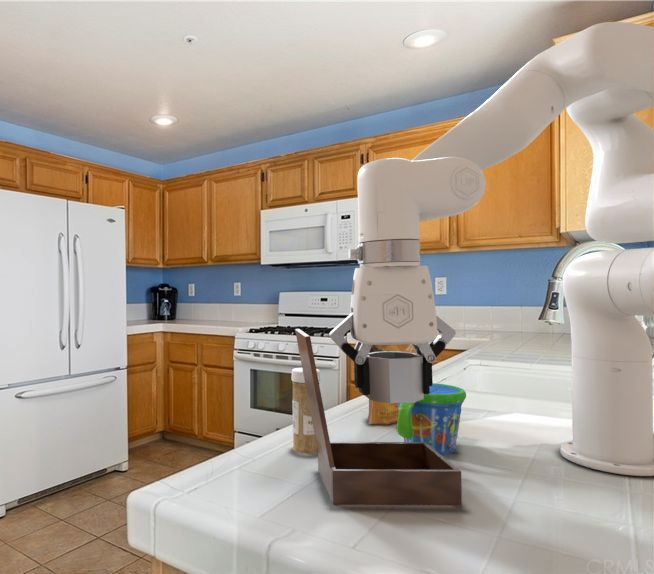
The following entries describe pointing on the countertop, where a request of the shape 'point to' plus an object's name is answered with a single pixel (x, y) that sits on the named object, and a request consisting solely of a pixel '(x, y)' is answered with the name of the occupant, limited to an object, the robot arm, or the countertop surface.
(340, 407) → the countertop surface
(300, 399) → the sprinkles bottle
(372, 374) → the steel cup
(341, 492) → the chest
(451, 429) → the snack cup
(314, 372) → the lid
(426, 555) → the countertop surface
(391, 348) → the pancake mix bag
